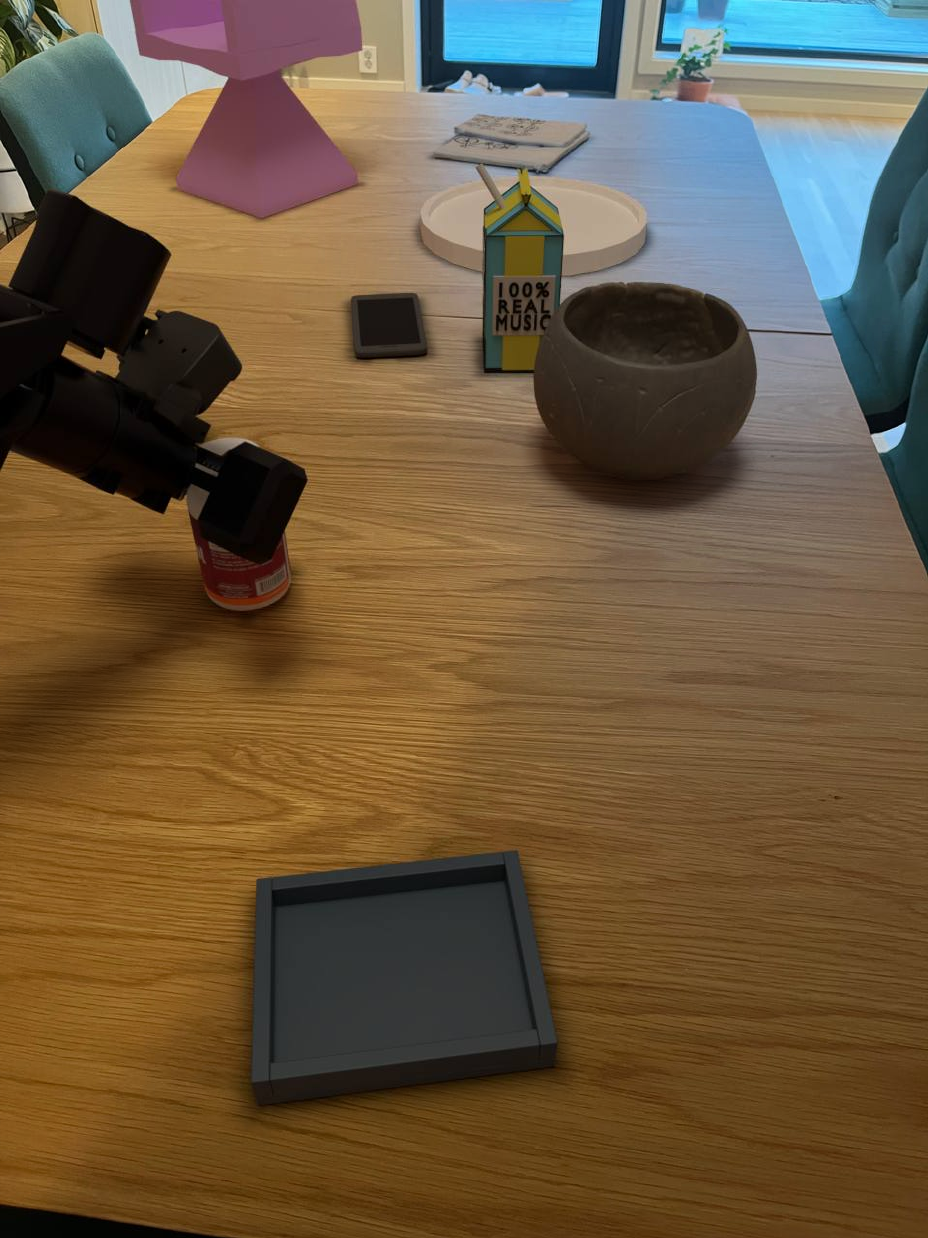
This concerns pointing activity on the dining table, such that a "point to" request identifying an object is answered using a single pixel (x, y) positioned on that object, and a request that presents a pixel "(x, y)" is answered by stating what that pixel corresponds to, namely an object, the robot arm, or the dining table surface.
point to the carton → (518, 274)
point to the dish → (396, 978)
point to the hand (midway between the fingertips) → (251, 501)
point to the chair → (255, 95)
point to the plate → (589, 213)
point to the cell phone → (387, 325)
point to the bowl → (644, 378)
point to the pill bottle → (235, 556)
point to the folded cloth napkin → (513, 141)
